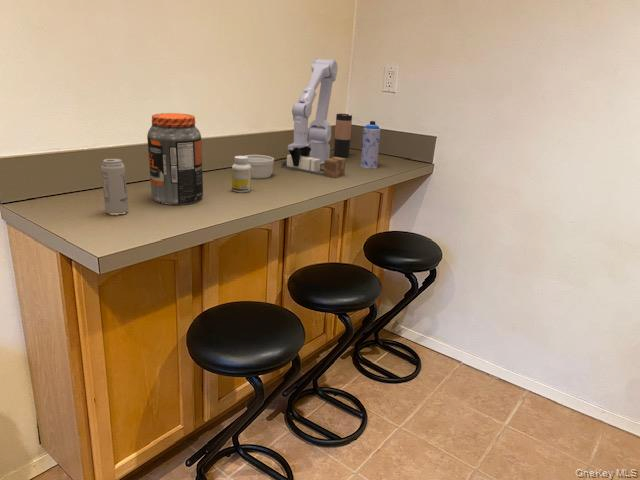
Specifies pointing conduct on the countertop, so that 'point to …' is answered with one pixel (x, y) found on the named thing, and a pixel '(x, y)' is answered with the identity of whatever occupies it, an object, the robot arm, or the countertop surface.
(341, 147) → the travel mug
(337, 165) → the socket block
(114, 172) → the energy drink can
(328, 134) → the robot arm
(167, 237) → the countertop surface
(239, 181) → the pill bottle
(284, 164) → the guide channel
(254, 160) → the ramekin
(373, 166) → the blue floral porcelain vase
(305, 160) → the banded cream case
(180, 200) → the supplement tub
